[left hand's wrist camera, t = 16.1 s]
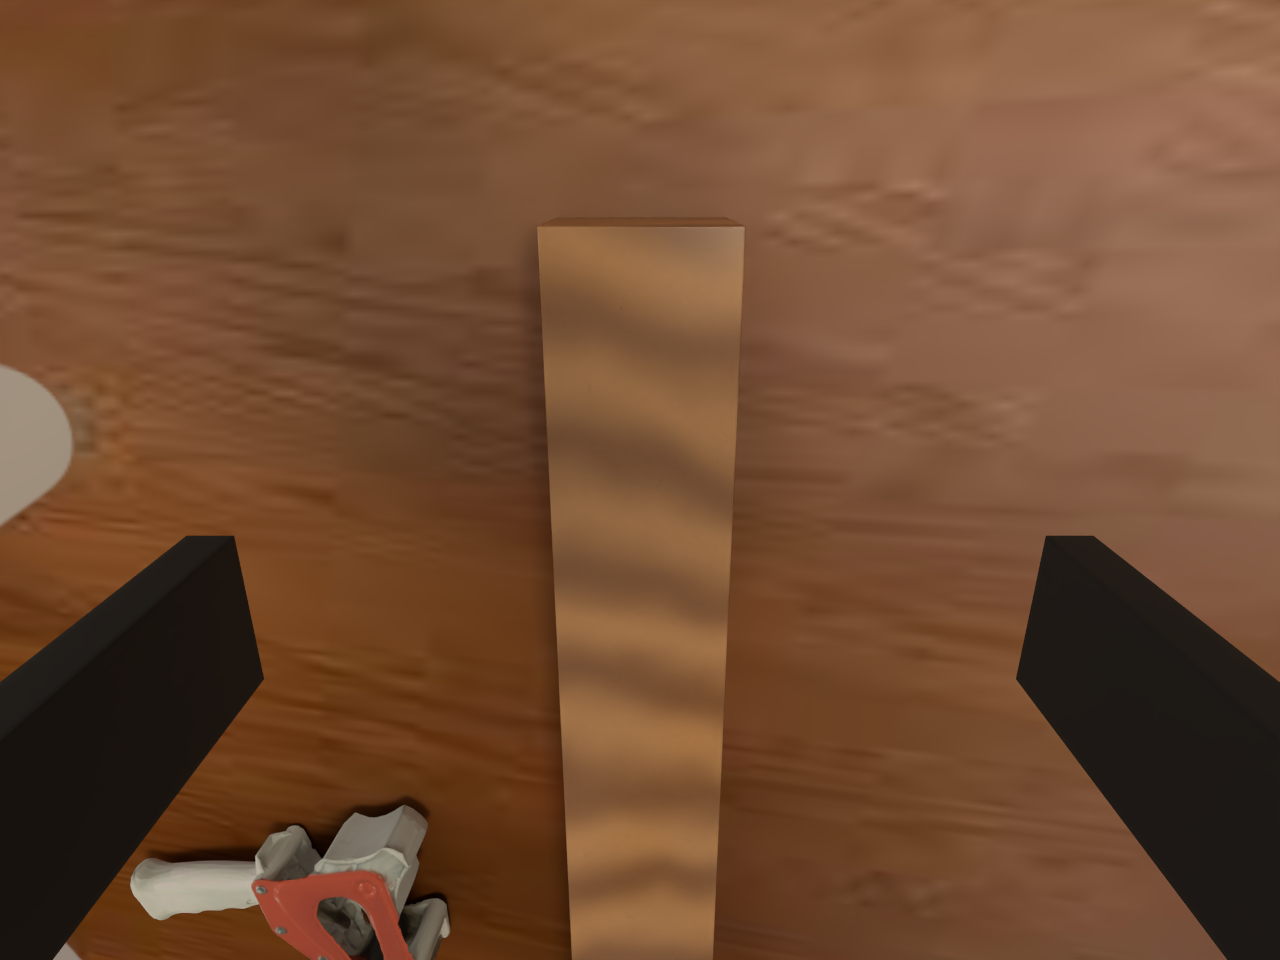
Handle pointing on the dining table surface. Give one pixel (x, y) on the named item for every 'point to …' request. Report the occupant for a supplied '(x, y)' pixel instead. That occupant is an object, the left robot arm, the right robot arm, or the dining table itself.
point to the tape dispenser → (316, 890)
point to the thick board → (641, 565)
